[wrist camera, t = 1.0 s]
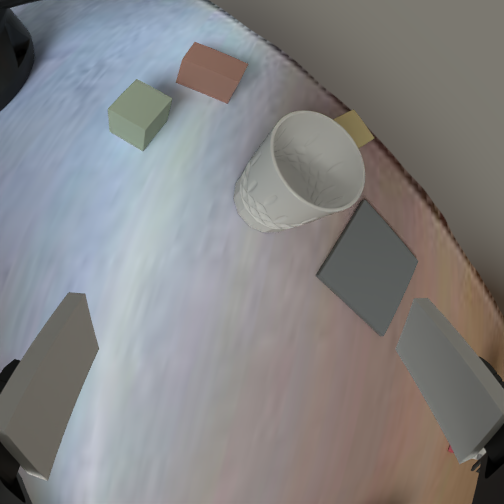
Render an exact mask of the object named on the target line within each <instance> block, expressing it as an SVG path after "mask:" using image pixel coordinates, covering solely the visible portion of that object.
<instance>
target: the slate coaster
mask: <svg viewBox="0 0 504 504" xmlns="http://www.w3.org/2000/svg"><path fill="white" fill-rule="evenodd" d="M417 263H418V260H417V259H416V258H415V257H414V255H413V254H412V253H411V252H410V251H409V249H408V248H407V247H406V246H405V244H404V243H403V242H402V241H401V240H400V239H399V237H398V236H397V235H396V234H395V233H394V231H393V230H392V229H391V228H390V227H389V226H388V225H387V223H386V222H385V221H384V220H383V219H382V218H381V217H380V216H379V214H378V213H377V212H376V211H375V210H374V209H373V208H372V207H371V206H370V204H369V203H368V202H367V201H366V200H365V199H364V200H362V201H361V203H360V204H359V206H358V208H357V209H356V211H355V213H354V214H353V216H352V218H351V220H350V221H349V223H348V225H347V226H346V228H345V230H344V231H343V233H342V234H341V236H340V238H339V239H338V241H337V243H336V244H335V246H334V247H333V249H332V251H331V252H330V254H329V255H328V257H327V259H326V260H325V262H324V263H323V265H322V267H321V268H320V270H319V271H318V273H317V274H316V276H317V277H318V278H319V279H320V280H321V281H322V282H323V283H324V284H325V285H326V286H327V287H328V288H330V289H331V290H332V291H333V292H334V293H335V294H336V295H337V296H338V297H339V298H340V299H341V300H342V301H343V302H345V303H346V304H347V305H348V306H349V307H350V308H351V309H352V310H353V311H354V312H355V313H356V314H357V315H358V316H359V317H360V318H362V319H363V320H364V321H365V322H366V323H367V324H368V325H369V326H370V327H371V328H372V329H373V330H374V331H375V332H376V333H377V334H378V335H379V336H384V334H385V333H386V331H387V329H388V327H389V325H390V323H391V321H392V319H393V317H394V314H395V312H396V310H397V308H398V306H399V304H400V302H401V300H402V298H403V295H404V293H405V291H406V289H407V286H408V284H409V282H410V280H411V277H412V275H413V273H414V270H415V268H416V265H417Z"/></svg>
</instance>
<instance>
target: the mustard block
mask: <svg viewBox="0 0 504 504" xmlns="http://www.w3.org/2000/svg"><path fill="white" fill-rule="evenodd" d="M333 120H334V121H336V122H337V123H338V124H339V125H341V126H342V127H343V128H344V129H345V130H346V131H347V132H348V133H349V135H350V136H351V137H352V139H353V140H354V142H355V143H356V145H357V147H358V149H359V148H360V147H362V146H363V145H365V144H366V143H368V142H369V141H371V140H372V139H374V137H373V135H372V134H371V132H370V131H369V130H368V128H367V127H366V125H365V124H364V122H363V121H362V120H361V118H360V117H359V116H358V114H357V113H356V111H355V110H351V111H349V112H347V113H345V114H343V115H341V116H339V117H337V118H335V119H333Z"/></svg>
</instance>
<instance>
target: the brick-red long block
mask: <svg viewBox="0 0 504 504" xmlns="http://www.w3.org/2000/svg"><path fill="white" fill-rule="evenodd" d="M247 66H248V64H247V63H245V62H243V61H240V60H238V59H236V58H234V57H231V56H229V55H227V54H224V53H222V52H219V51H217V50H214V49H212V48H209V47H207V46H204V45H202V44H199V43H196V42H194V44H193V45H192V46H191V48H190V49H189V51H188V52H187V53H186V55H185V56H184V58H183V59H182V62H181V66H180V69H179V73H178V77H177V80H176V83H178V84H181V85H183V86H186V87H188V88H191V89H193V90H196V91H198V92H201V93H203V94H206V95H208V96H210V97H213V98H215V99H218V100H220V101H222V102H225V103H227V104H228V102H229V100H230V98H231V96H232V94H233V93H234V91H235V89H236V87H237V85H238V84H239V82H240V80H241V78H242V76H243V74H244V72H245V70H246V68H247Z"/></svg>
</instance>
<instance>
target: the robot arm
mask: <svg viewBox="0 0 504 504" xmlns="http://www.w3.org/2000/svg"><path fill="white" fill-rule="evenodd" d="M36 1H41V0H0V110H1V109H2V108H3V107H4V106H5V105H7V104H8V102H9V101H10V100H11V99H12V98H13V97H14V96H15V95H16V93H17V92H18V91H19V90H20V88H21V87H22V85H23V84H24V82H25V81H26V79H27V77H28V75H29V73H30V71H31V69H32V66H33V62H34V56H35V53H34V47H33V42H32V38H31V35H30V33H29V31H28V30H27V28H26V27H25V26H24V25H23V24H22V22H21V21H20V20H19V19H18V18H17V16H16V15H15V14H14V13H13V12H12V10H11V9H10V8H11V7H15V6H19V5H23V4H27V3H31V2H36ZM98 350H99V347H98V343H97V340H96V336H95V332H94V328H93V325H92V321H91V317H90V313H89V308H88V304H87V300H86V295H85V294H82V293H70V292H69V293H68V294H67V295H66V297H65V298H64V299H63V301H62V302H61V303H60V305H59V306H58V307H57V309H56V310H55V311H54V313H53V314H52V316H51V317H50V318H49V320H48V321H47V323H46V324H45V325H44V327H43V328H42V330H41V331H40V333H39V334H38V335H37V337H36V338H35V340H34V341H33V343H32V344H31V346H30V347H29V349H28V350H27V352H26V353H25V355H24V356H23V358H22V360H21V361H20V360H16V359H14V360H13V361H12V362H11V363H9V364H8V365H7V366H6V367H4V369H3V370H2V372H1V373H0V504H32V502H31V500H30V498H29V495H28V493H27V490H26V488H25V485H24V483H23V480H22V478H21V476H20V474H19V473H18V470H19V467H20V465H21V467H22V468H23V469H24V470H25V471H26V472H27V473H28V474H30V475H33V476H35V477H38V478H41V479H44V480H47V481H48V479H49V476H50V473H51V469H52V466H53V463H54V460H55V457H56V454H57V452H58V449H59V446H60V443H61V440H62V437H63V435H64V432H65V429H66V427H67V424H68V421H69V419H70V416H71V414H72V411H73V408H74V406H75V403H76V401H77V398H78V396H79V394H80V391H81V389H82V386H83V384H84V382H85V379H86V377H87V375H88V372H89V370H90V368H91V365H92V363H93V361H94V359H95V356H96V354H97V352H98ZM396 351H397V353H398V354H399V356H400V357H401V359H402V361H403V362H404V364H405V366H406V367H407V369H408V371H409V372H410V374H411V376H412V377H413V379H414V381H415V383H416V384H417V386H418V388H419V389H420V391H421V393H422V395H423V396H424V398H425V400H426V402H427V403H428V405H429V407H430V409H431V411H432V412H433V414H434V416H435V418H436V420H437V421H438V423H439V425H440V427H441V429H442V431H443V433H444V434H445V436H446V438H447V440H448V442H449V444H450V446H451V448H452V450H453V452H454V454H455V455H456V457H457V459H458V461H459V463H460V464H461V463H463V462H465V461H467V460H469V459H472V458H474V457H475V456H476V455H477V454H478V453H479V452H480V451H481V450H482V449H483V448H484V449H485V451H486V453H485V454H484V455H483V456H482V457H481V458H480V459H479V460H478V461H477V462H476V463H475V464H474V465H473V466H472V469H471V471H474V470H475V469H476V468H477V467H478V466H479V465H480V464H481V466H480V468H479V469H478V470H477V471H476V472H478V473H479V476H478V481H477V485H476V489H475V494H474V498H473V502H472V504H504V382H502V379H501V377H500V376H499V375H497V372H496V371H495V370H494V368H493V367H492V366H491V365H490V364H489V363H488V362H487V361H485V360H484V359H483V358H481V357H478V355H477V354H476V353H475V352H474V351H473V349H472V348H471V347H470V346H469V345H468V343H467V342H466V341H465V340H464V339H463V337H462V336H461V335H460V334H459V333H458V331H457V330H456V329H455V328H454V327H453V326H452V325H451V323H450V322H449V321H448V320H447V319H446V318H445V317H444V315H443V314H442V313H441V312H440V311H439V310H438V309H437V308H436V306H435V305H434V304H433V303H432V302H431V301H430V300H429V299H428V298H416V299H414V300H413V303H412V306H411V309H410V312H409V315H408V317H407V320H406V323H405V326H404V328H403V331H402V334H401V336H400V339H399V342H398V344H397V347H396Z"/></svg>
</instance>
